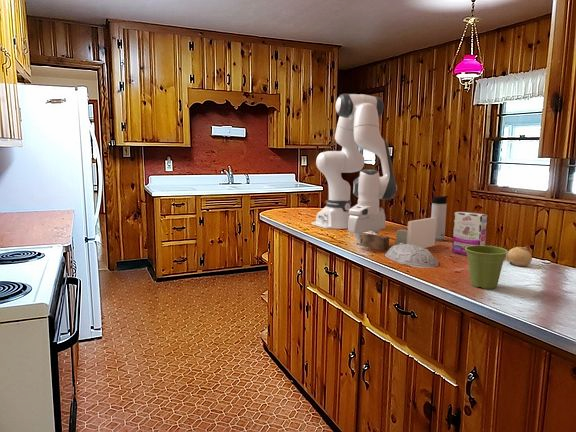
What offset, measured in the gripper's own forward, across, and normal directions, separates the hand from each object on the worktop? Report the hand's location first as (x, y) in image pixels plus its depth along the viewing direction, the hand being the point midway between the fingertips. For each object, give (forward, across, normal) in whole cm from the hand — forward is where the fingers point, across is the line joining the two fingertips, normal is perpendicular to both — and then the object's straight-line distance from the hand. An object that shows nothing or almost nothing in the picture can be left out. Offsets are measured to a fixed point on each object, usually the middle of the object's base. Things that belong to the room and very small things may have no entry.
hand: (366, 241), depth 185 cm
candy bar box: (+2, -20, +34) cm, 40 cm away
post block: (+2, -15, +13) cm, 20 cm away
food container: (+3, +4, +24) cm, 25 cm away
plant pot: (+2, +14, +57) cm, 59 cm away
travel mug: (+2, -36, +11) cm, 38 cm away
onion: (+2, -20, +53) cm, 57 cm away
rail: (+2, 0, +3) cm, 4 cm away
